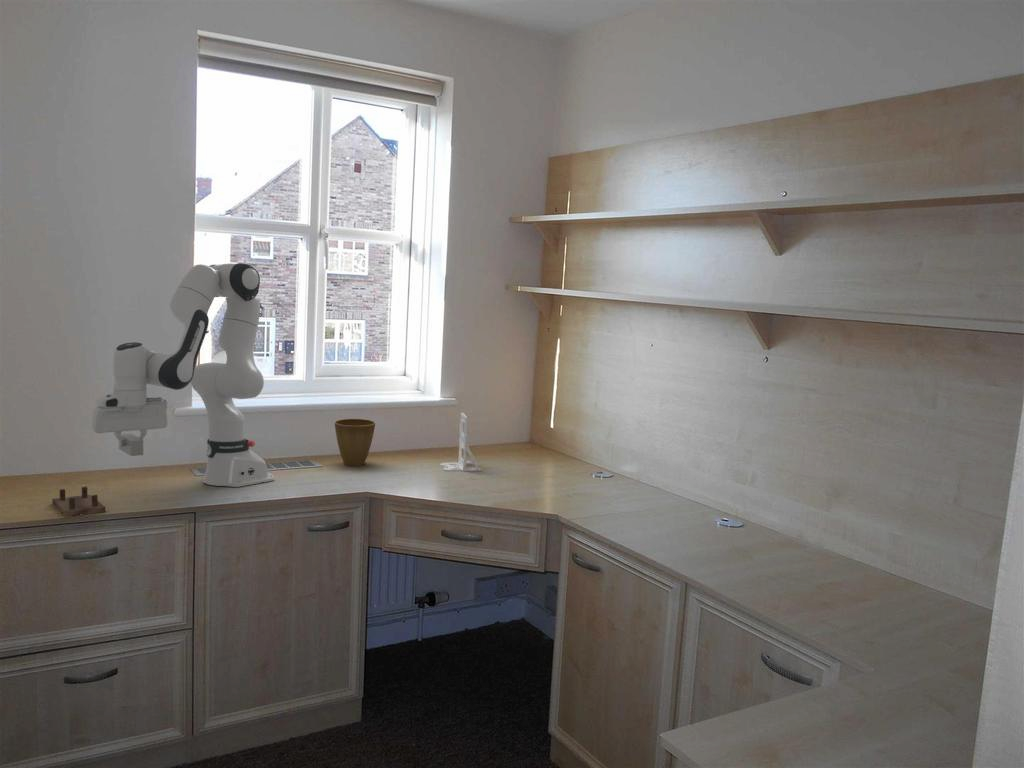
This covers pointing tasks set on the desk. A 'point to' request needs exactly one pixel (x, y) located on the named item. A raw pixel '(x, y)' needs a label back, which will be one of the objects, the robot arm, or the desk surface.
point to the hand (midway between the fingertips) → (130, 445)
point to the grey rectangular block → (132, 444)
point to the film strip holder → (464, 445)
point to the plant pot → (354, 439)
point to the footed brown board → (78, 503)
